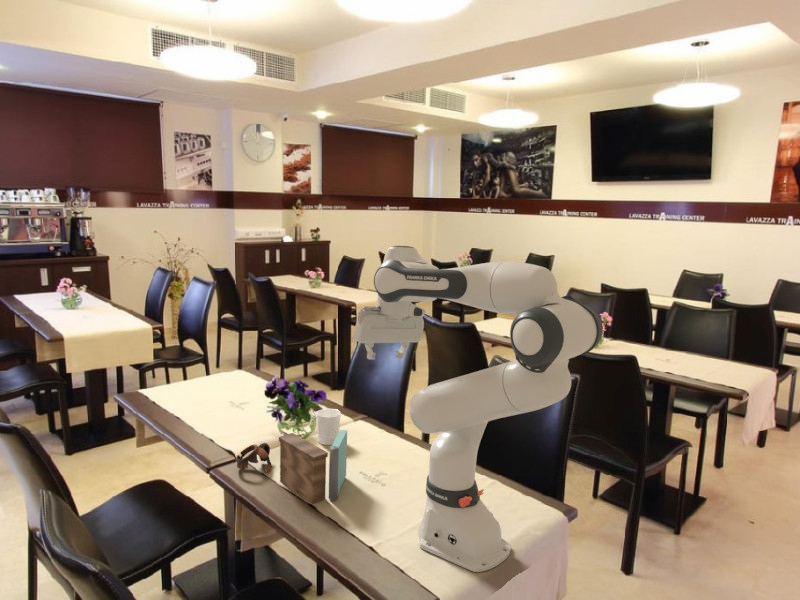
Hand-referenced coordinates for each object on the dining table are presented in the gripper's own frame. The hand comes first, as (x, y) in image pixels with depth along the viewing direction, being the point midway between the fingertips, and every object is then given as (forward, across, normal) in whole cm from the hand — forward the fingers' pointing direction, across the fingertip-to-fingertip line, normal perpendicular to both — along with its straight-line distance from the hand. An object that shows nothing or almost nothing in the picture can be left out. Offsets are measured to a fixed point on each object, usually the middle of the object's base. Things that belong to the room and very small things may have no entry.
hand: (385, 358), depth 146 cm
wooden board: (+41, -13, +12) cm, 44 cm away
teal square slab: (+39, -4, +7) cm, 40 cm away
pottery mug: (+43, -18, +31) cm, 56 cm away
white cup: (+40, +10, +37) cm, 55 cm away
